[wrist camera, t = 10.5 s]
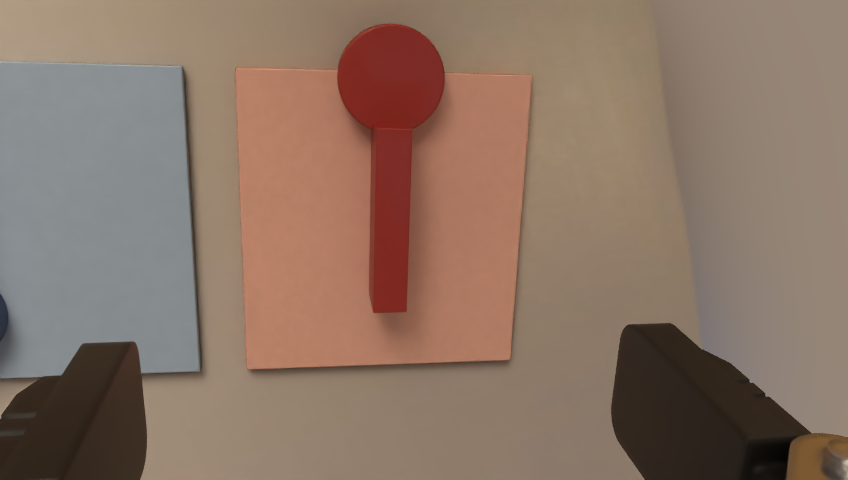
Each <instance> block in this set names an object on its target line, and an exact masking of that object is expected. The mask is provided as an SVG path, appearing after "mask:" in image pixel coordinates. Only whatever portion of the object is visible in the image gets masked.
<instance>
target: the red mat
mask: <svg viewBox="0 0 848 480" xmlns="http://www.w3.org/2000/svg"><path fill="white" fill-rule="evenodd" d="M235 73H236V99H237V126H238V152H239V178H240V204H241V230H242V256H243V283H244V309H245V335H246V361H247V369H248V370H249V369H276V368H303V367H331V366H358V365H385V364H412V363H440V362H467V361H494V360H510V354H511V341H512V328H513V316H514V303H515V290H516V277H517V265H518V252H519V239H520V227H521V214H522V201H523V188H524V176H525V163H526V150H527V137H528V125H529V112H530V99H531V86H532V76H530V75H502V74H464V73H444V74H445V83H444V90H443V95H442V97H441V100H440V102H439V104H438V106H437V108H436V110H435V111H434V112H433V114H432V115H431V116H430V117H429V118H428V119H427V120H426V121H425V122H424V123H422V124H421V125H419V126H418V127H416V128H414V129H412V130H413V132H412V163H411V195H410V226H409V257H408V289H407V312H395V313H373V310H372V305H371V301H370V296H369V253H370V188H371V129H369V128H367V127H365V126H364V125H362V124H361V123H359V122H358V121H357V120H356V119H355V118H354V117H353V116H352V115H351V114H350V113H349V111H348V110H347V108H346V107H345V105H344V103H343V101H342V99H341V96H340V93H339V89H338V84H337V70H314V69H277V68H239V67H237V68H236V69H235Z"/></svg>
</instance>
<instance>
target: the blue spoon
mask: <svg viewBox="0 0 848 480" xmlns="http://www.w3.org/2000/svg"><path fill="white" fill-rule="evenodd" d="M7 326H8V312H7V307H6V304H5V301H4V299H3V297H2V295H1V294H0V342H1V340H2V339H3V337H4V335H5V333H6V330H7Z"/></svg>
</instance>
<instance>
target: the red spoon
mask: <svg viewBox="0 0 848 480" xmlns="http://www.w3.org/2000/svg"><path fill="white" fill-rule="evenodd" d="M444 83H445V74H444V67H443V63H442V60H441V58H440V55H439V53H438V51H437V50H436V48H435V47H434V45H433V44H432V43H431V42H430V41H429V40H428V39H427V38H426V37H425V36H424V35H423V34H421V33H420V32H418V31H416V30H415V29H412V28H410V27H407V26H403V25H398V24H381V25H376V26H373V27H370V28H368V29H366V30H364V31H362V32H361V33H359V34H358V35H357V36H355V37H354V38H353V39H352V40H351V41H350V43H349V44H348V45H347V47H346V48H345V50H344V51H343V54H342V56H341V58H340V61H339V65H338V70H337V84H338V89H339V93H340V96H341V99H342V101H343V103H344V105H345V107H346V108H347V110H348V111H349V113H350V114H351V115H352V116H353V117H354V118H355V119H356V120H357V121H358V122H359V123H361V124H362V125H364V126H365V127H367V128H369V129H371V188H370V253H369V296H370V301H371V305H372V310H373V313H395V312H407V289H408V257H409V226H410V195H411V163H412V132H413V130H412V129H414V128H416V127H418V126H419V125H421V124H422V123H424V122H425V121H426V120H427V119H428V118H429V117H430V116H431V115H432V114H433V112H434V111H435V110H436V108H437V106H438V104H439V102H440V100H441V97H442V95H443V90H444Z"/></svg>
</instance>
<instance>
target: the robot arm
mask: <svg viewBox="0 0 848 480" xmlns="http://www.w3.org/2000/svg"><path fill="white" fill-rule="evenodd" d="M611 415H612V424H613V428H614V432H615V435H616V438H617V440H618V442H619V443H620V445H621V446H622V448H623V449H624V450H625V452H626V453H627V455H628V456H629V458H630V459H631V460H632V462H633V463H634V465H635V466H636V467H637V469H638V470H639V472H640V473H641V475H642V476H643V477H644V479H645V480H848V437H843V436H839V435H833V434H823V433H813V434H812V433H811V432H809V431H808V430H807V429H806V428H805V427H804V426H802V425H801V424H800V423H799V422H798V421H797V420H796V419H794V418H793V417H792V416H791V415H790V414H788V413H787V412H786V411H785V410H784V409H783V408H781V407H780V406H779V405H778V404H777V403H776V402H775V401H774V400H772V399H771V398H770V397H765V393H764V392H763V391H762V390H761V389H760V388H758V387H757V386H756V385H755V384H754V383H750V382H749V379H748V378H747V377H745V376H744V375H743V374H742V373H741V372H740V371H739V370H738V369H736V368H735V367H734V366H733V365H732V364H730V363H729V362H727V361H725V360H723V359H721V358H719V357H717V356H715V355H713V354H711V353H709V352H707V351H705V350H703V349H702V350H701V349H700V348H699V347H698V346H697V345H696V344H695V343H694V342H692V341H691V340H690V339H689V338H688V337H687V336H686V335H685V334H683V333H682V332H681V331H680V330H679V329H678V328H677V327H676V326H674V325H673V324H671V323H660V324H632V325H627V326H626V327H625V328H624V329H623V331H622V334H621V338H620V344H619V351H618V359H617V367H616V374H615V382H614V390H613V398H612V406H611ZM146 449H147V429H146V418H145V408H144V398H143V387H142V377H141V367H140V357H139V351H138V347H137V345H136V343H135V342H134V341H127V342H99V343H83V344H82V345H81V346H80V347H79V349H78V351H77V352H76V354H75V355H74V357H73V358H72V360H71V361H70V363H69V364H68V366H67V367H66V369H65V371H64V372H63V374H62V375H56V376H44V377H42V378H41V379H39V380H38V381H36V382H35V383H33V384H32V385H30V386H29V387H27V388H26V389H24V390H23V391H21V392H20V393H18V394H17V395H16V396H15V397H14V399H13V400H12V401H11V403H10V404H9V406H8V407H7V408H6V410H5V411H4V412H3V414H2V415H1V419H0V480H140V478H141V475H142V472H143V469H144V465H145V459H146Z"/></svg>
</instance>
